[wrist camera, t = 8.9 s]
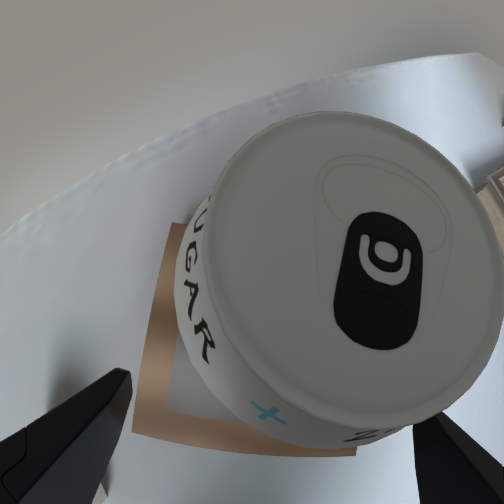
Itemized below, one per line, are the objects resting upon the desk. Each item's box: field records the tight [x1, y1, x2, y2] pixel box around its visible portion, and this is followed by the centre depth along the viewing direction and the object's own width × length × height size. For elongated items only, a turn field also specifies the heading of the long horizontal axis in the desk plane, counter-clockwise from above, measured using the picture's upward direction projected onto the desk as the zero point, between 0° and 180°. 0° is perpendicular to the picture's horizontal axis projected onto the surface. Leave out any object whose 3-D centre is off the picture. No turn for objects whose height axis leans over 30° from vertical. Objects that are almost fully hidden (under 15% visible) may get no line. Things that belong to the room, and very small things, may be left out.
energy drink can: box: [174, 111, 504, 449], centre depth 11 cm, size 6×6×15 cm
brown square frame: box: [132, 223, 357, 457], centre depth 19 cm, size 14×14×3 cm
